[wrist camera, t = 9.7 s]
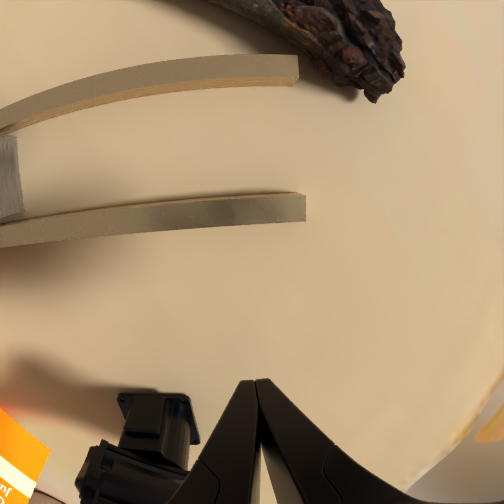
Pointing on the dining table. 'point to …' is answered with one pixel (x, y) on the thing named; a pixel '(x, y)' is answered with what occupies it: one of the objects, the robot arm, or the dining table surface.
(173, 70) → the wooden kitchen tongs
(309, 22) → the grey brown wooden log
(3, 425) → the orange juice
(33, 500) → the canister
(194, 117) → the dining table surface
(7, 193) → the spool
